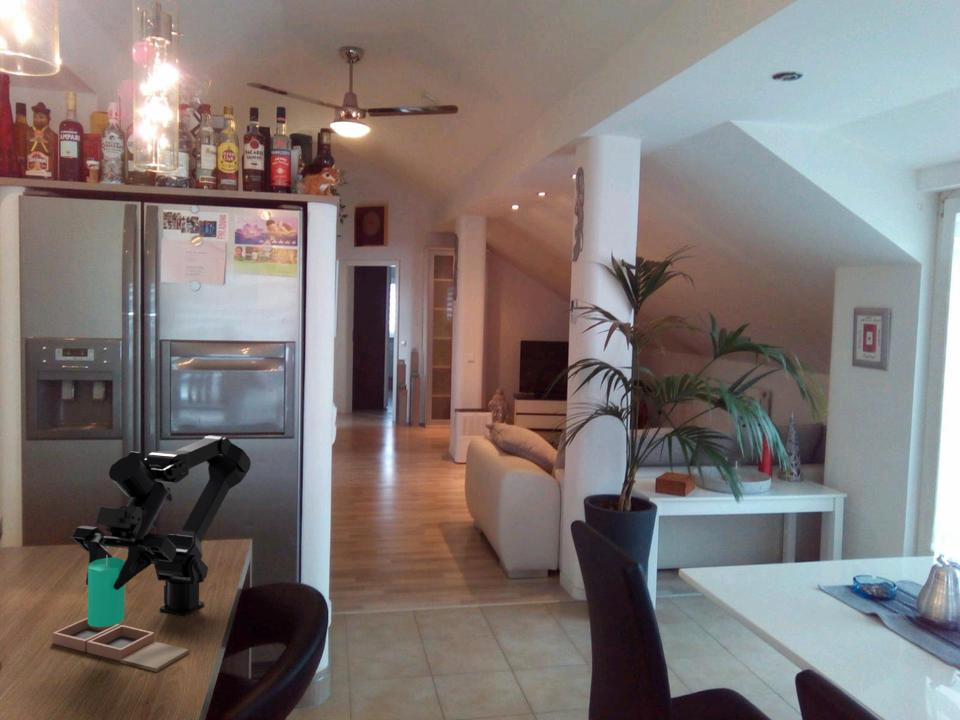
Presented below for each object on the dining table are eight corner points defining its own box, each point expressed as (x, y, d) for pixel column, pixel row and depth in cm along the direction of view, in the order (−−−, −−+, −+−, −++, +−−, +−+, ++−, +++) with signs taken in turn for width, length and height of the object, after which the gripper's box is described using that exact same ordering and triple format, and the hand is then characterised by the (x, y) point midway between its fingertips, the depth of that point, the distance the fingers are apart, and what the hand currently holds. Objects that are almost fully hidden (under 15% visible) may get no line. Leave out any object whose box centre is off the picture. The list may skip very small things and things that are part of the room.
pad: (188, 652, 137) (188, 649, 137) (156, 671, 129) (156, 668, 129) (154, 644, 140) (154, 641, 140) (120, 662, 132) (120, 659, 132)
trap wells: (154, 642, 140) (154, 632, 140) (120, 660, 133) (120, 650, 133) (88, 627, 146) (88, 617, 146) (52, 643, 138) (52, 633, 138)
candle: (96, 612, 137) (96, 549, 136) (129, 613, 137) (130, 549, 136) (81, 627, 131) (81, 560, 130) (116, 627, 131) (117, 561, 130)
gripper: (78, 483, 138) (31, 560, 128) (167, 492, 134) (126, 572, 124) (107, 513, 146) (65, 588, 136) (192, 522, 142) (155, 600, 132)
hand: (101, 586), depth 132 cm, fingers closed on candle, 5 cm apart
